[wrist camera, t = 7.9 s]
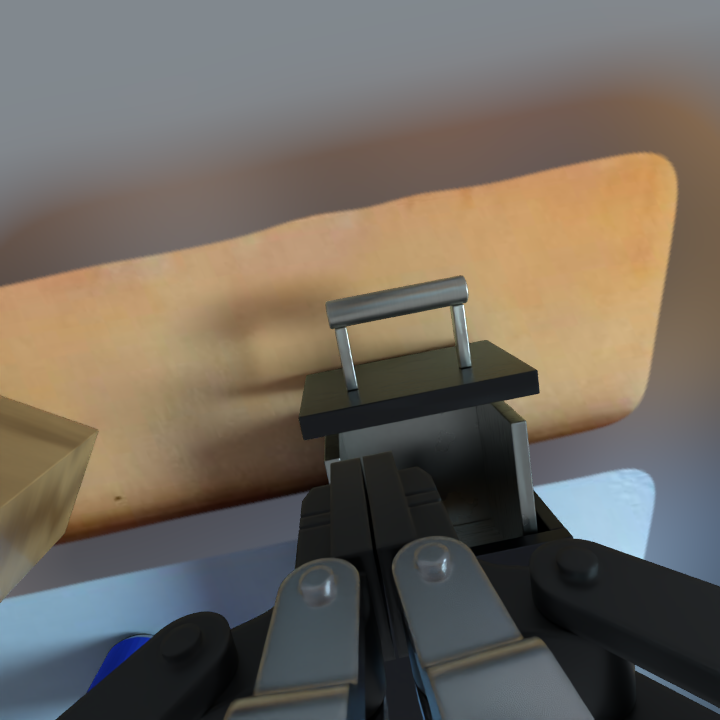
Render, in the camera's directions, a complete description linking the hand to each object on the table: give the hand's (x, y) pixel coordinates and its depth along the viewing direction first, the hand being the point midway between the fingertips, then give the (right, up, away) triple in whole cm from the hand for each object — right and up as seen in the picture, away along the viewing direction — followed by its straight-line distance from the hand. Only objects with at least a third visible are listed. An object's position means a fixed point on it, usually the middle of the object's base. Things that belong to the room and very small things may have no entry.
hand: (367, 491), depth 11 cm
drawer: (+3, 0, +19) cm, 19 cm away
